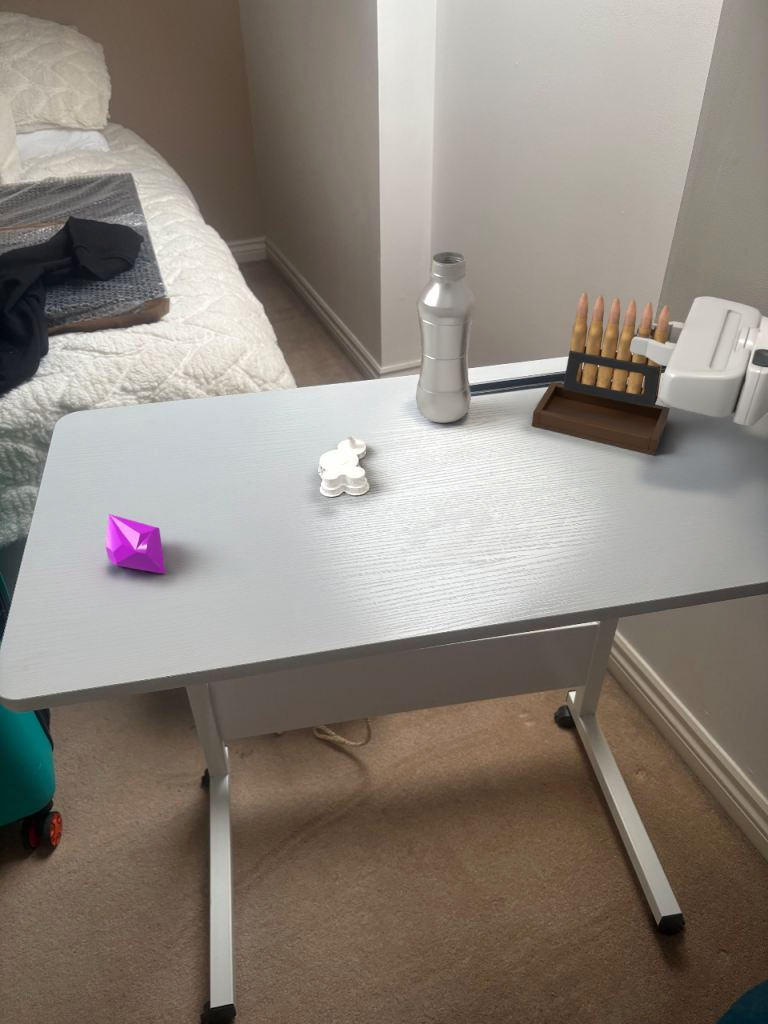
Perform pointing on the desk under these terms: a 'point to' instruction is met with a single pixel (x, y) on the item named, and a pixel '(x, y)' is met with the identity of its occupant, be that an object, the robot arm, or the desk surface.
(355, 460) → the white lobed figurine
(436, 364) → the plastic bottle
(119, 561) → the crystal
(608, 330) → the ammunition clip
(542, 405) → the tray
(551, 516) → the desk surface
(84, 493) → the desk surface
